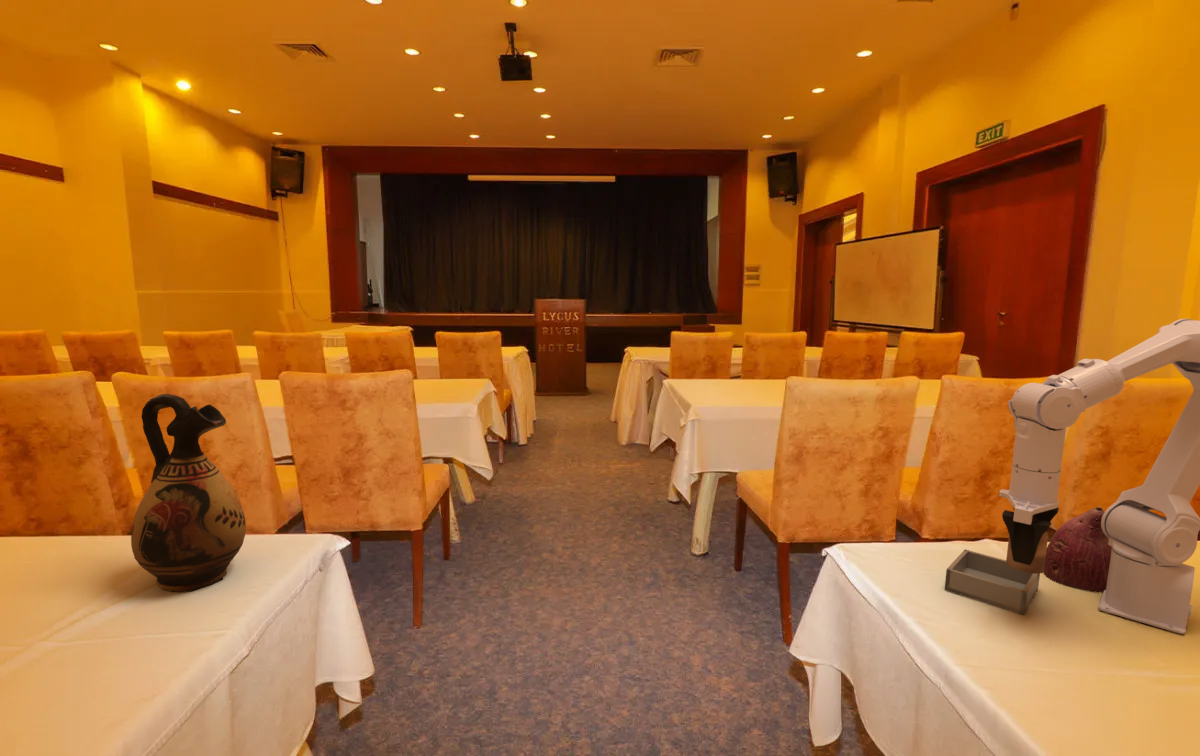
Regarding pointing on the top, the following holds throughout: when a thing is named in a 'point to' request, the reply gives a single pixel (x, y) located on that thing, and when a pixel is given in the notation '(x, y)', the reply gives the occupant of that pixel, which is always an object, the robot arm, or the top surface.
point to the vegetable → (1080, 553)
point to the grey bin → (991, 581)
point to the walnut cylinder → (1037, 562)
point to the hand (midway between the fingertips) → (1025, 556)
